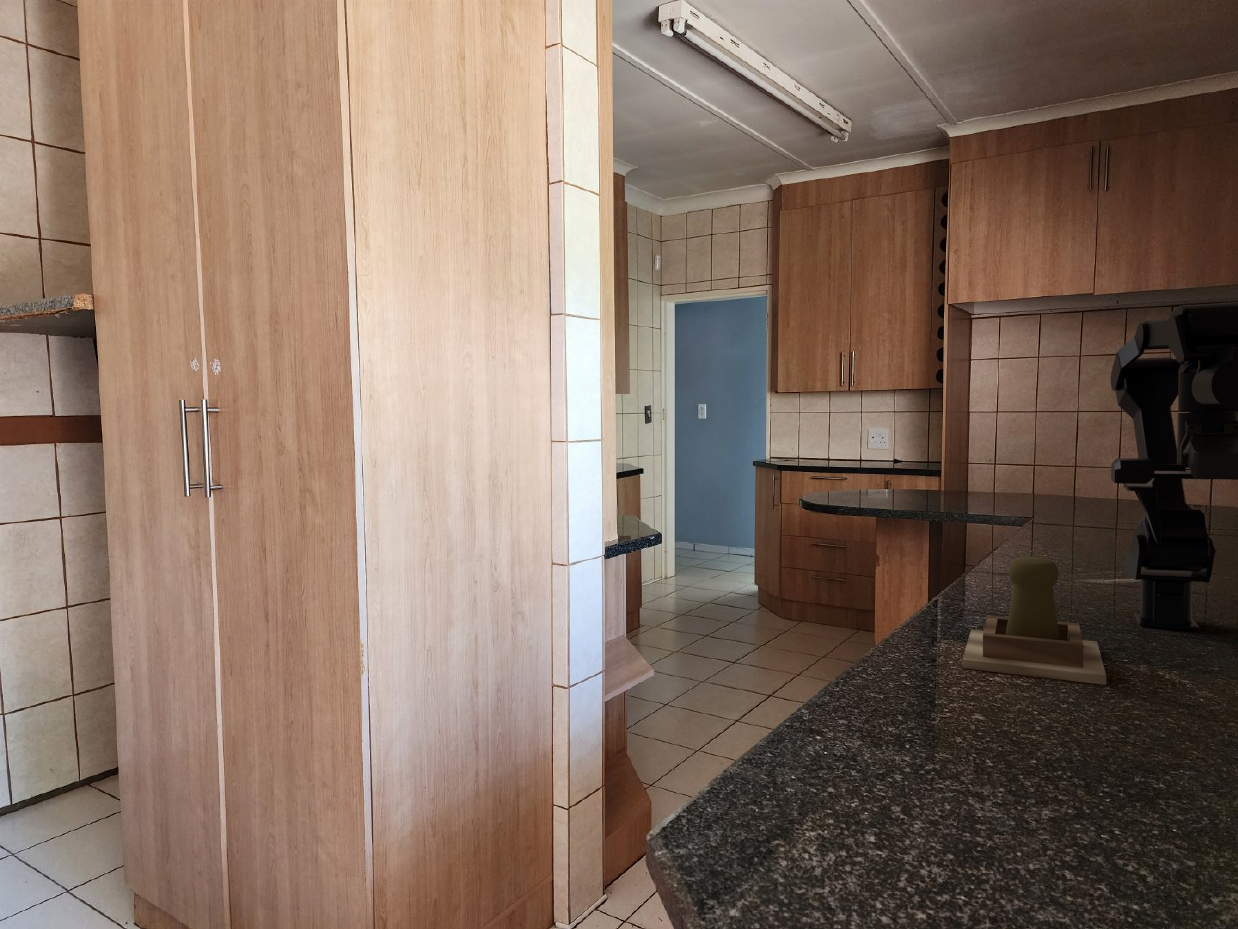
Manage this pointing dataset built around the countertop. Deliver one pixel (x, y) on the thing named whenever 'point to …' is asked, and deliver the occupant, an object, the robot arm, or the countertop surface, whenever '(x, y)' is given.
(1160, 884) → the countertop surface
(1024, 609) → the cork
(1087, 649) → the socket board
